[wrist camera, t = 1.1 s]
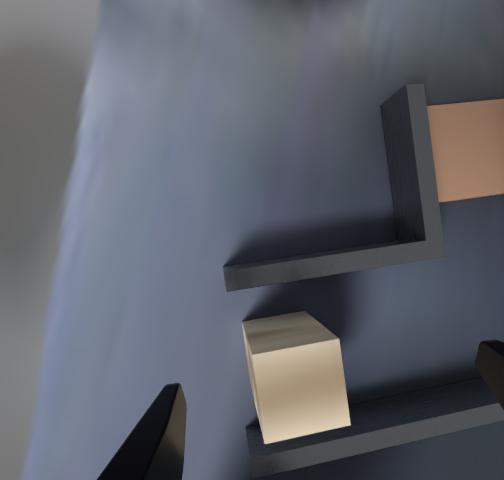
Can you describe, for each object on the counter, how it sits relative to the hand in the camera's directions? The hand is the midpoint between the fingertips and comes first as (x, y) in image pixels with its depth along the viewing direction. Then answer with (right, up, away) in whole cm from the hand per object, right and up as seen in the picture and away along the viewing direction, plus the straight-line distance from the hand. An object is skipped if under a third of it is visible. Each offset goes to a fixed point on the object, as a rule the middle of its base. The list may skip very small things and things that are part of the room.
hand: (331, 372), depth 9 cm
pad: (+14, +11, +14) cm, 22 cm away
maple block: (-1, -4, +12) cm, 13 cm away
